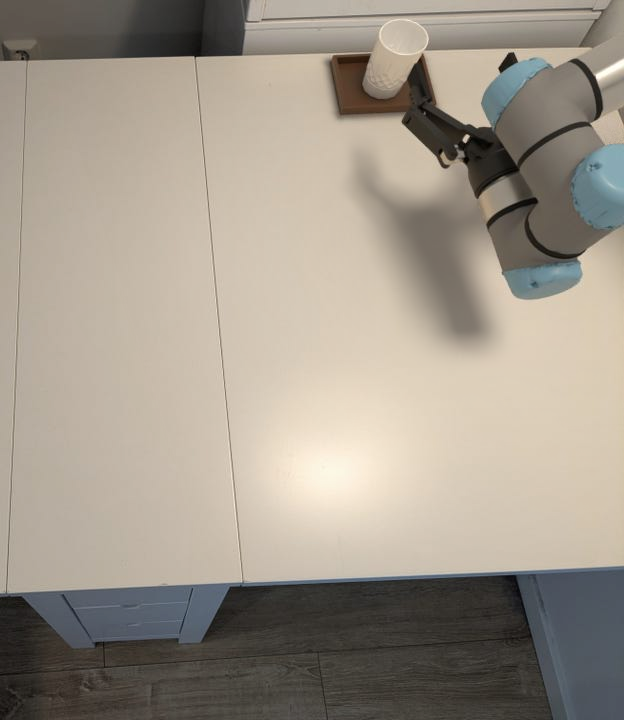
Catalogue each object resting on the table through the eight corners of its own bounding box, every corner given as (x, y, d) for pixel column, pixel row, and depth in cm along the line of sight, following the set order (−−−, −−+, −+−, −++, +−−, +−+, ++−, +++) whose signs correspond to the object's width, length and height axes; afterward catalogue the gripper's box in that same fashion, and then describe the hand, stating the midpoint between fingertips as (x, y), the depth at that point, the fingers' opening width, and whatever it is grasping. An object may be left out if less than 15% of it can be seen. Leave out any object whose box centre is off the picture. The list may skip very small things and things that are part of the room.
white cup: (400, 106, 98) (425, 58, 89) (355, 97, 99) (376, 49, 90) (405, 73, 101) (431, 23, 91) (362, 65, 101) (382, 14, 92)
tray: (329, 65, 103) (333, 54, 100) (417, 61, 102) (422, 50, 100) (339, 117, 99) (343, 108, 96) (430, 113, 98) (437, 103, 96)
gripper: (402, 214, 77) (365, 95, 84) (580, 193, 77) (528, 76, 84) (427, 179, 70) (384, 53, 77) (622, 157, 70) (561, 32, 77)
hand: (459, 65), depth 80 cm, fingers open, 13 cm apart
